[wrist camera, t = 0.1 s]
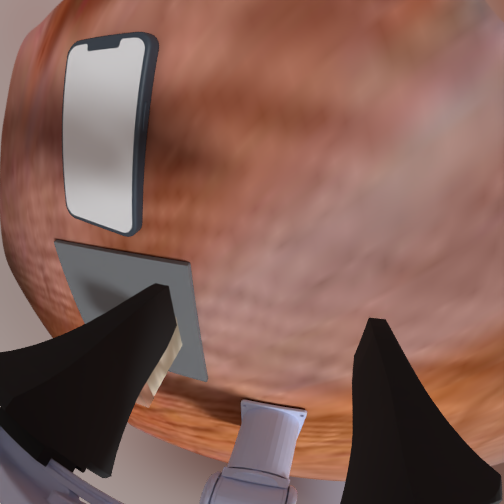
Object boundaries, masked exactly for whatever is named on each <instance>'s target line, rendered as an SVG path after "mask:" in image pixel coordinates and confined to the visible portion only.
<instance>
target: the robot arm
mask: <svg viewBox="0 0 504 504" xmlns="http://www.w3.org/2000/svg"><path fill="white" fill-rule="evenodd" d="M176 326H177V323H176V319H175V314H174V309H173V304H172V299H171V294H170V289H169V286H167V285H162V284H157V283H154V284H153V285H151V286H149V287H147V288H145V289H144V290H142V291H140V292H139V293H137V294H135V295H134V296H132V297H131V298H129V299H127V300H126V301H124V302H122V303H121V304H119V305H117V306H116V307H114V308H113V309H111V310H109V311H108V312H106V313H104V314H102V315H100V316H99V317H97V318H95V319H93V320H92V321H90V322H88V323H86V324H84V325H82V326H80V327H78V328H76V329H74V330H72V331H70V332H68V333H65V334H63V335H61V336H58V337H55V338H53V339H50V340H47V341H45V342H42V343H39V344H36V345H33V346H29V347H25V348H21V349H17V350H13V351H6V352H0V406H1V407H0V503H1V504H86V503H84V502H81V501H80V500H79V496H80V497H81V498H83V499H84V500H86V501H87V502H89V503H90V504H124V503H122V502H120V501H118V500H116V499H114V498H112V497H111V496H109V495H107V494H105V493H103V492H102V491H100V490H98V489H97V488H95V487H93V486H92V485H90V484H88V483H87V482H85V481H84V480H82V479H81V478H79V477H78V476H76V475H75V474H73V471H74V469H75V468H76V469H78V470H79V471H81V472H84V471H85V470H86V468H87V469H89V470H90V471H92V472H93V473H95V474H97V475H98V476H100V477H102V478H108V477H110V476H111V473H112V469H113V465H114V461H115V457H116V453H117V450H118V447H119V443H120V441H121V438H122V434H123V432H124V429H125V427H126V424H127V421H128V419H129V416H130V414H131V412H132V409H133V407H134V405H135V402H136V400H137V398H138V396H139V394H140V392H141V391H142V389H143V387H144V385H145V384H146V382H147V380H148V379H149V377H150V375H151V374H152V372H153V371H154V369H155V367H156V366H157V364H158V362H159V361H160V359H161V357H162V356H163V354H164V352H165V351H166V349H167V347H168V345H169V343H170V341H171V338H172V336H173V334H174V331H175V329H176ZM352 403H353V436H352V448H351V455H350V461H349V467H348V472H347V477H346V482H345V487H344V491H343V495H342V499H341V503H340V504H499V503H500V502H501V501H502V482H501V475H500V474H499V473H498V472H496V471H495V470H494V469H493V468H492V467H491V466H489V465H488V464H487V463H486V462H485V461H484V460H482V459H481V458H480V457H479V456H478V455H477V454H476V453H475V452H474V451H473V450H472V449H471V448H470V447H469V446H468V445H467V443H466V442H465V441H464V440H463V439H462V438H461V437H460V436H459V434H458V433H457V432H456V431H455V430H454V428H453V427H452V426H451V425H450V424H449V422H448V421H447V420H446V419H445V417H444V416H443V415H442V413H441V412H440V410H439V409H438V408H437V406H436V405H435V404H434V402H433V401H432V399H431V398H430V396H429V395H428V393H427V392H426V390H425V388H424V387H423V385H422V384H421V382H420V380H419V379H418V377H417V375H416V374H415V372H414V370H413V368H412V367H411V365H410V363H409V361H408V359H407V358H406V356H405V354H404V352H403V350H402V349H401V347H400V345H399V343H398V341H397V339H396V337H395V336H394V334H393V332H392V330H391V328H390V326H389V325H388V323H387V321H386V319H377V318H369V319H368V322H367V324H366V327H365V330H364V333H363V335H362V338H361V340H360V343H359V345H358V348H357V350H356V353H355V355H354V364H353V377H352ZM306 415H307V411H306V410H302V409H295V408H288V407H282V406H276V405H270V404H265V403H260V402H254V401H250V400H242V401H241V419H242V424H241V427H240V430H239V433H238V436H237V439H236V442H235V445H234V448H233V451H232V454H231V457H230V460H229V463H228V466H227V467H224V468H223V471H222V472H219V471H217V472H215V473H214V474H212V475H211V476H210V477H209V479H208V480H207V482H206V484H205V486H204V489H203V492H202V495H201V499H200V504H296V502H297V494H298V493H297V490H296V489H295V487H294V486H292V485H289V482H290V479H288V478H289V473H290V469H291V464H292V460H293V455H294V450H295V445H296V440H297V437H298V435H299V433H300V430H301V428H302V425H303V423H304V420H305V417H306Z"/></svg>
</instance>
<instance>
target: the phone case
mask: <svg viewBox="0 0 504 504" xmlns="http://www.w3.org/2000/svg"><path fill="white" fill-rule="evenodd" d="M158 51H159V43H158V40H157V38H156V37H155V36H154V35H152V34H149V33H145V32H132V33H123V34H115V35H108V36H101V37H96V38H90V39H85V40H80V41H77V42H76V43H74V44H73V45H72V47H71V48H70V50H69V52H68V56H67V62H66V71H65V80H64V92H63V109H62V159H63V177H64V189H65V199H66V206H67V209H68V211H69V213H70V214H71V215H72V216H73V217H74V218H76V219H79V220H82V221H84V222H87V223H90V224H92V225H95V226H98V227H101V228H103V229H106V230H109V231H112V232H115V233H117V234H120V235H123V236H127V237H130V236H133V235H134V234H135V233H137V232H138V231H139V230H140V229H141V227H142V211H143V182H144V165H145V151H146V139H147V128H148V119H149V110H150V103H151V95H152V87H153V80H154V74H155V68H156V62H157V56H158Z"/></svg>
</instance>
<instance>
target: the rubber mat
mask: <svg viewBox="0 0 504 504" xmlns="http://www.w3.org/2000/svg"><path fill="white" fill-rule="evenodd" d="M54 244H55V247H56V251H57V254H58V257H59V260H60V263H61V266H62V268H63V271H64V274H65V277H66V279H67V282H68V285H69V287H70V290H71V292H72V295H73V297H74V300H75V302H76V305H77V307H78V309H79V311H80V314H81V316H82V318H83V320H84V323H85V324H86V323H88V322H90V321H92V320H93V319H95V318H97V317H99V316H100V315H102V314H104V313H106V312H108V311H109V310H111V309H113V308H114V307H116V306H117V305H119V304H121V303H122V302H124V301H126V300H127V299H129V298H131V297H132V296H134V295H135V294H137V293H139V292H140V291H142V290H144V289H145V288H147V287H149V286H151V285H153V284H154V283H157V284H162V285H167V286H169V289H170V294H171V299H172V304H173V309H174V314H175V317H176V319H177V324H178V328H179V332H180V337H181V341H182V347H181V349H180V351H179V352H178V354H177V356H176V358H175V359H174V361H173V363H172V365H171V367H170V368H169V370H168V371H170V372H173V373H176V374H180V375H183V376H186V377H190V378H193V379H197V380H201V381H204V382H207V380H208V375H207V370H206V364H205V359H204V353H203V347H202V341H201V335H200V329H199V323H198V316H197V310H196V303H195V296H194V288H193V281H192V273H191V265H190V263H189V262H182V261H176V260H170V259H164V258H158V257H152V256H146V255H140V254H134V253H128V252H122V251H117V250H111V249H105V248H100V247H94V246H89V245H83V244H78V243H72V242H67V241H61V240H56V241H54Z"/></svg>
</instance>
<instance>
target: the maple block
mask: <svg viewBox="0 0 504 504" xmlns="http://www.w3.org/2000/svg"><path fill="white" fill-rule="evenodd" d="M175 319H176V317H175ZM176 323H177V319H176ZM181 347H182V341H181V337H180V332H179V328H178V324H177V326H176V329H175V331H174V334H173V336H172V338H171V341H170V343H169V345H168V347H167V349H166V351H165V352H164V354H163V356H162V357H161V359H160V361H159V362H158V364H157V366H156V367H155V369H154V371H153V372H152V374H151V375H150V377H149V379H148V380H147V382H146V384H145V385H144V387H143V389H142V391H141V392H140V394H139V396H138V398H137V400H136V402H135V403H138V404H140V405H143V406H145V407H148V408H149V406H150V404H151V403H152V401H153V399H154V395H155V394H156V392H157V390H158V388H159V386H160V385H161V383H162V381H163V379H164V377H165V376H166V374H167V372H168V370H169V368H170V367H171V365H172V363H173V361H174V359H175V358H176V356H177V354H178V352H179V351H180V349H181Z"/></svg>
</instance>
